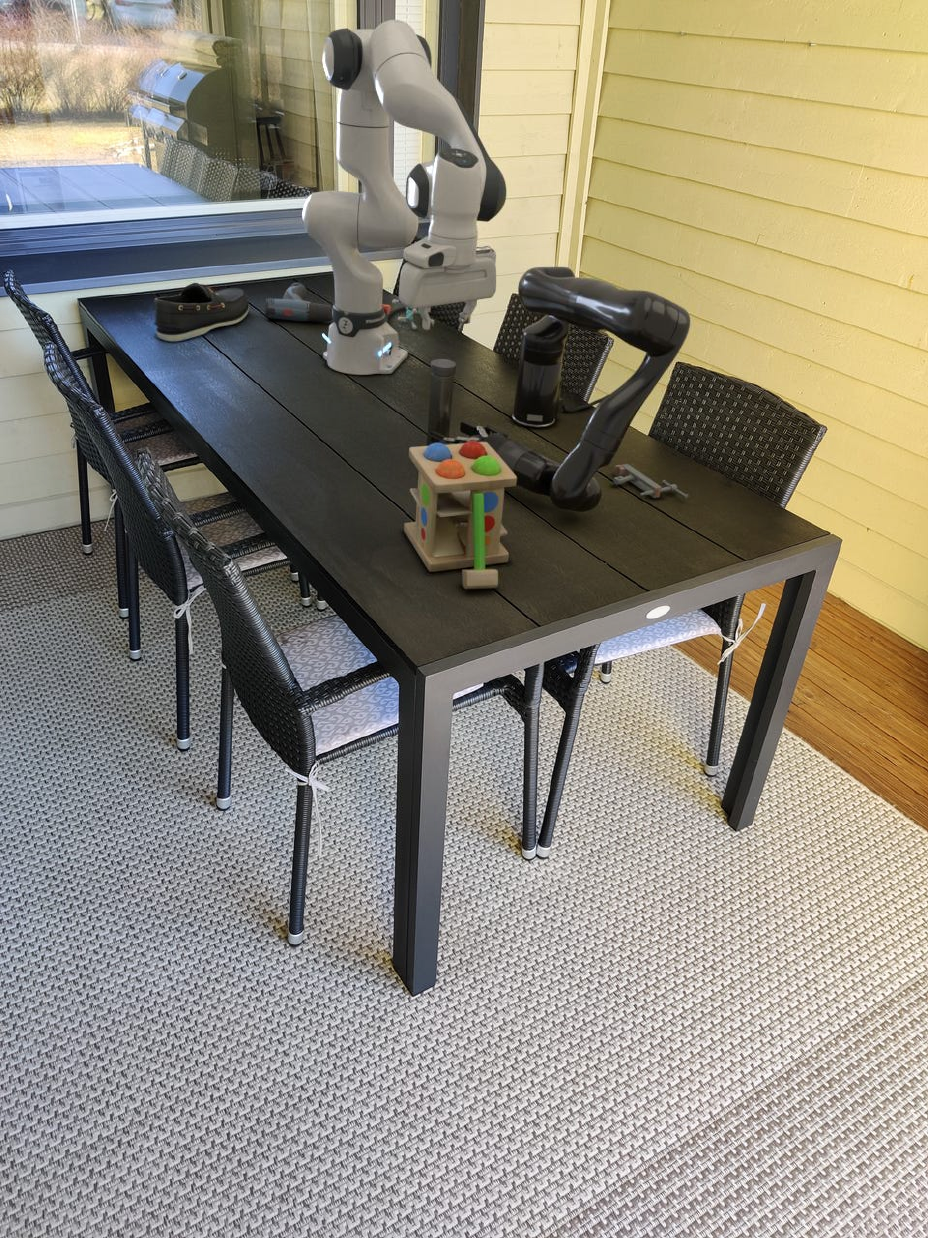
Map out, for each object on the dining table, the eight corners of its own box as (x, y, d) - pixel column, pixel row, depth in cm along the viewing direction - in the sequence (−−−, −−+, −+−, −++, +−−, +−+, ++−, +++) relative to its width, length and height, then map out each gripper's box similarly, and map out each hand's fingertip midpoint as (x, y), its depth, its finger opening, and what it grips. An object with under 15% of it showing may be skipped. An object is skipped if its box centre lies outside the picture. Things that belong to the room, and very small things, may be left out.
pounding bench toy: (528, 589, 159) (542, 490, 149) (446, 600, 155) (455, 499, 145) (478, 522, 177) (488, 429, 167) (403, 530, 172) (408, 435, 162)
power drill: (344, 304, 276) (335, 327, 259) (277, 298, 275) (264, 321, 258) (344, 285, 273) (335, 306, 256) (277, 279, 272) (264, 300, 255)
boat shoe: (267, 317, 262) (265, 277, 257) (175, 343, 238) (170, 300, 233) (232, 308, 268) (229, 269, 262) (138, 333, 244) (133, 291, 238)
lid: (458, 376, 188) (459, 367, 187) (434, 376, 187) (435, 367, 186) (451, 367, 192) (451, 358, 191) (427, 367, 191) (428, 359, 190)
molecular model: (429, 321, 258) (417, 284, 257) (398, 334, 262) (385, 297, 260) (444, 323, 268) (432, 287, 267) (414, 335, 272) (402, 300, 271)
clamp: (603, 467, 195) (642, 459, 200) (601, 477, 197) (640, 469, 201) (650, 500, 185) (691, 491, 190) (648, 510, 186) (688, 501, 191)
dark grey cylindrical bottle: (450, 459, 198) (457, 369, 188) (429, 460, 197) (435, 369, 186) (443, 449, 202) (450, 361, 191) (423, 451, 200) (429, 361, 190)
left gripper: (485, 240, 184) (479, 314, 192) (395, 250, 173) (392, 327, 181) (507, 249, 180) (499, 323, 188) (416, 259, 169) (412, 338, 177)
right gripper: (533, 432, 188) (472, 405, 197) (484, 450, 179) (422, 421, 188) (529, 467, 193) (469, 439, 201) (480, 487, 184) (419, 457, 192)
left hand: (446, 325), depth 184 cm, fingers open, 7 cm apart
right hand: (446, 430), depth 195 cm, fingers open, 8 cm apart
